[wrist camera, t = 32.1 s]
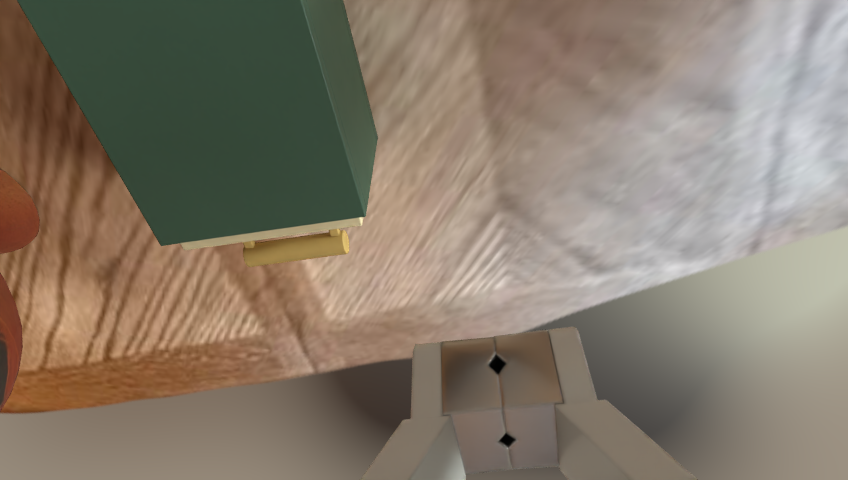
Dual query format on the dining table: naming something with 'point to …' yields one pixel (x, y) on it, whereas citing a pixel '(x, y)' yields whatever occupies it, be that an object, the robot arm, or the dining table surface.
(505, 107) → the dining table surface
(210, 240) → the drawer
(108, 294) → the dining table surface
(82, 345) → the dining table surface
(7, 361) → the goblet
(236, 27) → the cabinet
